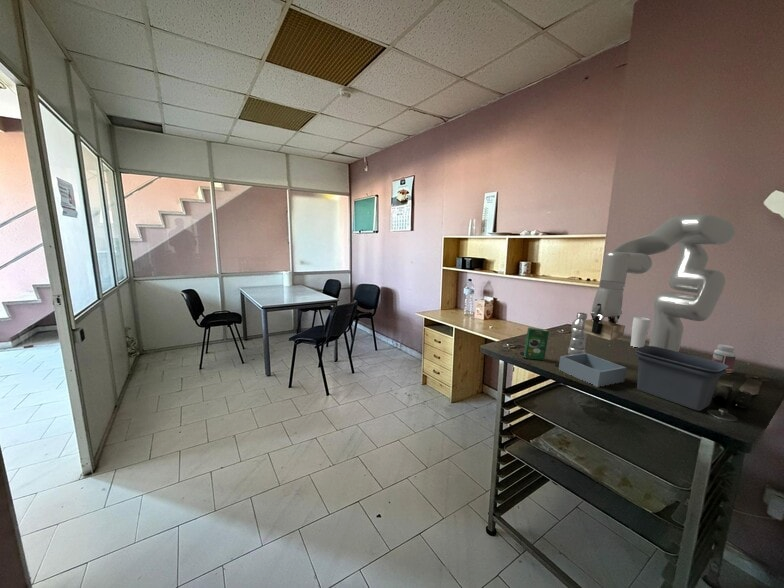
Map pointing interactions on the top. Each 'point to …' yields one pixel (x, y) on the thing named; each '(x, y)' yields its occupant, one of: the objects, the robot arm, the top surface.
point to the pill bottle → (725, 356)
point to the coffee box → (536, 343)
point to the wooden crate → (606, 330)
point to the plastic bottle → (578, 335)
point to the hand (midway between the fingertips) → (603, 332)
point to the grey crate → (592, 369)
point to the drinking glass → (639, 331)
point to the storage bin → (678, 376)
